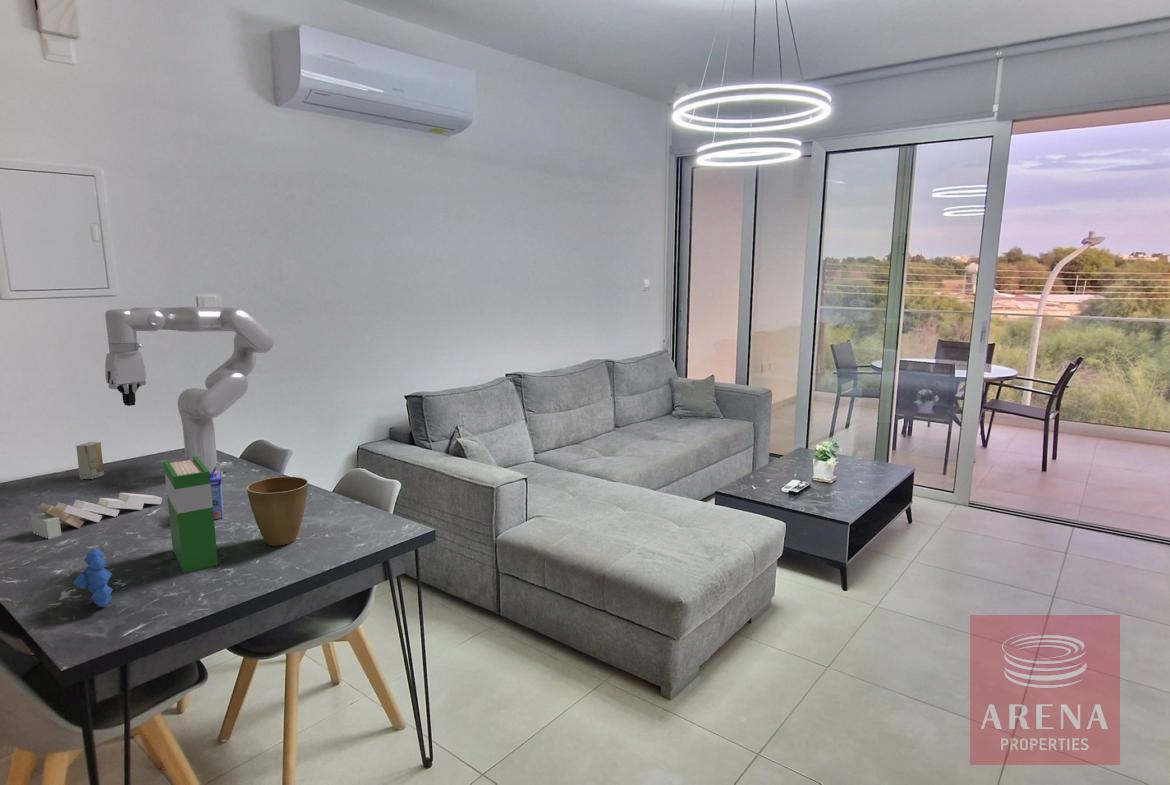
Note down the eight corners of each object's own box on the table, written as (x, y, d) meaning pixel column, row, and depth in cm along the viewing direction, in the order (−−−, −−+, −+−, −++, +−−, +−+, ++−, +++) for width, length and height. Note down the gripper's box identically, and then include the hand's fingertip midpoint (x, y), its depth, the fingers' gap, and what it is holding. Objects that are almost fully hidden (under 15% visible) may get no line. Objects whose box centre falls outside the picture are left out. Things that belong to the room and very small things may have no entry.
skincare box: (91, 480, 228) (87, 446, 226) (79, 480, 228) (75, 445, 226) (105, 474, 235) (101, 441, 233) (93, 474, 235) (89, 441, 233)
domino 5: (153, 495, 208) (119, 492, 199) (162, 498, 205) (129, 495, 197) (151, 501, 207) (118, 499, 199) (160, 504, 205) (127, 501, 196)
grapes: (72, 599, 144) (65, 548, 142) (109, 590, 149) (103, 539, 147) (81, 619, 136) (74, 565, 134) (120, 608, 141) (114, 555, 139)
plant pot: (282, 555, 168) (277, 495, 165) (238, 547, 173) (233, 488, 171) (324, 534, 182) (320, 479, 179) (282, 527, 187) (278, 473, 184)
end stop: (46, 530, 183) (43, 513, 183) (61, 535, 180) (59, 518, 179) (33, 533, 181) (30, 516, 180) (48, 539, 177) (46, 521, 176)
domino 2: (92, 513, 192) (58, 502, 184) (102, 515, 190) (68, 504, 182) (88, 519, 192) (54, 508, 184) (98, 522, 189) (63, 511, 181)
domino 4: (134, 500, 203) (99, 497, 194) (144, 503, 200) (108, 500, 192) (132, 506, 202) (97, 504, 194) (142, 509, 200) (106, 507, 191)
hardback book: (172, 549, 171) (163, 460, 167) (205, 542, 176) (196, 456, 172) (183, 573, 158) (173, 477, 154) (218, 565, 162) (209, 471, 158)
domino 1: (74, 519, 188) (42, 502, 181) (84, 522, 186) (51, 505, 179) (69, 525, 187) (36, 509, 180) (79, 528, 185) (46, 512, 178)
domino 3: (110, 507, 197) (75, 499, 188) (119, 510, 195) (85, 502, 186) (107, 514, 196) (72, 506, 188) (116, 516, 194) (81, 509, 186)
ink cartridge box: (224, 518, 193) (219, 471, 191) (202, 521, 191) (197, 473, 188) (224, 508, 202) (220, 462, 200) (204, 511, 200) (199, 465, 197)
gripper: (140, 345, 217) (146, 400, 220) (90, 349, 204) (97, 407, 207) (154, 347, 214) (160, 402, 217) (104, 351, 201) (111, 410, 204)
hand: (129, 404), depth 212 cm, fingers closed
